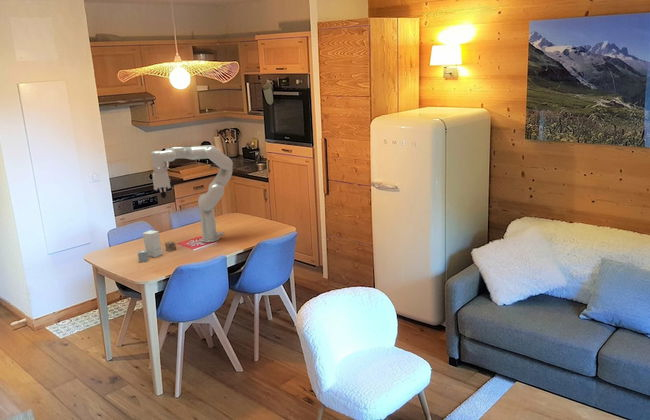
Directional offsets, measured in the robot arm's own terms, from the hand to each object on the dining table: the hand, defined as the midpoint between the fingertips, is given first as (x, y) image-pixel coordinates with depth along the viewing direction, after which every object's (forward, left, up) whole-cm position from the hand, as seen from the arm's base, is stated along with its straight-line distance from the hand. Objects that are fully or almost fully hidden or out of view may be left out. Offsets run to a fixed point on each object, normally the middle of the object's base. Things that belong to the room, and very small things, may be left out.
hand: (163, 197), depth 363 cm
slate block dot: (+19, +21, -33) cm, 43 cm away
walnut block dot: (+1, +9, -33) cm, 34 cm away
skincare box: (+12, +14, -33) cm, 38 cm away
